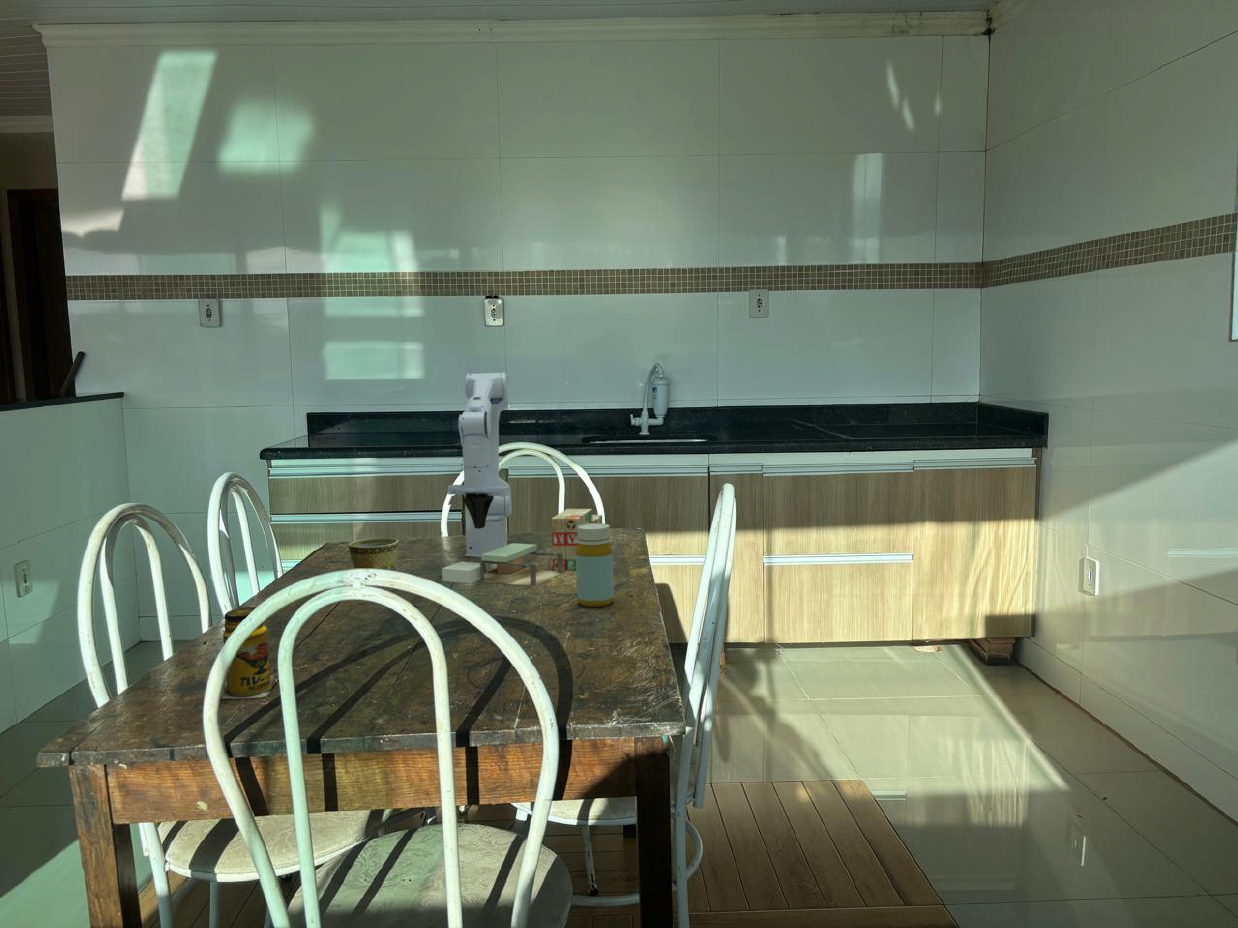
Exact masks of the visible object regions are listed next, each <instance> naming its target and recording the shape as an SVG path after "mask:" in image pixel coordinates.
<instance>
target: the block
mask: <svg viewBox="0 0 1238 928" xmlns="http://www.w3.org/2000/svg"><path fill="white" fill-rule="evenodd" d="M523 558H524V555H523V556H521V557H518V558H516V559H513V560H511V561H508V563H520V564H523V563H524V559H523ZM496 562H498V561H496ZM496 565H497V564H496ZM496 567H497V569H498V574H504V575H510V574H512V573H515V572H517V571H520V570H522V569H523V567H522V566H509V565H497V566H496Z"/></svg>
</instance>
